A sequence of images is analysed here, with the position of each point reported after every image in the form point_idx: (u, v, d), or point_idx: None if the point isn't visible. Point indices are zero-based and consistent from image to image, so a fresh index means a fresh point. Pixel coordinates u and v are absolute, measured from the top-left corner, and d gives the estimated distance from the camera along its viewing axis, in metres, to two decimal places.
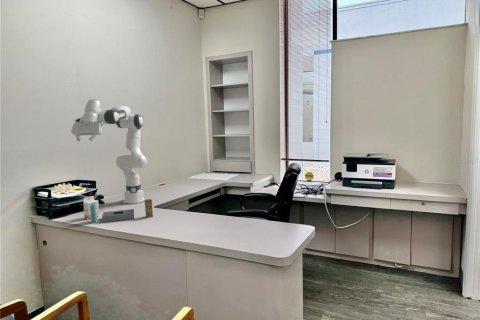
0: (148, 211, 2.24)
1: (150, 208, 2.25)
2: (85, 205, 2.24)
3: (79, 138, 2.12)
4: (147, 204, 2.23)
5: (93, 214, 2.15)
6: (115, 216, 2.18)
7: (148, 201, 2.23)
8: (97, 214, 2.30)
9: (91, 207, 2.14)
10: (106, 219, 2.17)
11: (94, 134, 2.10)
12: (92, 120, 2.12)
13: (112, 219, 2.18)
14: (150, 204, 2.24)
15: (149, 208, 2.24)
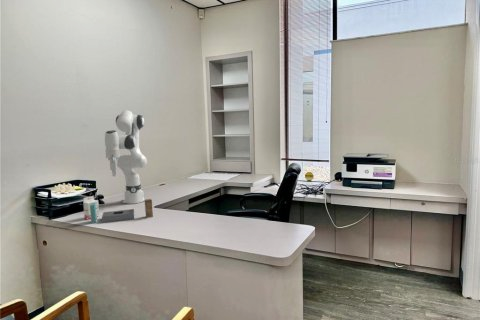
0: (148, 211, 2.24)
1: (150, 208, 2.25)
2: (85, 205, 2.24)
3: (114, 172, 2.24)
4: (147, 204, 2.23)
5: (93, 214, 2.15)
6: (115, 216, 2.18)
7: (148, 201, 2.23)
8: (97, 214, 2.30)
9: (91, 207, 2.14)
10: (106, 219, 2.17)
11: (112, 170, 2.14)
12: (109, 156, 2.15)
13: (112, 219, 2.18)
14: (150, 204, 2.24)
15: (149, 208, 2.24)
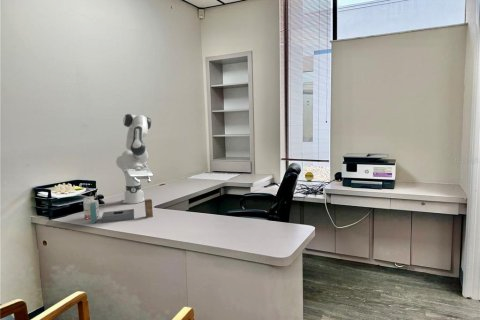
0: (148, 211, 2.24)
1: (150, 208, 2.25)
2: (85, 205, 2.24)
3: None
4: (147, 204, 2.23)
5: (93, 214, 2.15)
6: (115, 216, 2.18)
7: (148, 201, 2.23)
8: (97, 214, 2.30)
9: (91, 207, 2.14)
10: (106, 219, 2.17)
11: (133, 178, 2.23)
12: None
13: (112, 219, 2.18)
14: (150, 204, 2.24)
15: (149, 208, 2.24)
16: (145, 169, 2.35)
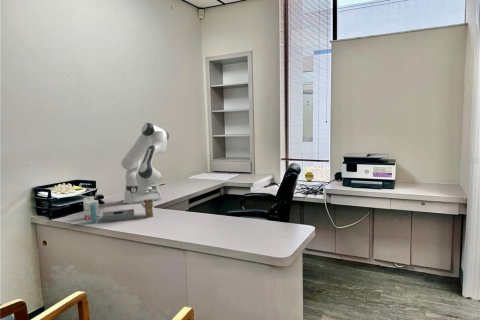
0: (148, 211, 2.24)
1: (150, 208, 2.25)
2: (85, 205, 2.24)
3: None
4: (147, 204, 2.23)
5: (93, 214, 2.15)
6: (115, 216, 2.18)
7: (148, 201, 2.23)
8: (97, 214, 2.30)
9: (91, 207, 2.14)
10: (106, 219, 2.17)
11: (140, 203, 2.26)
12: None
13: (112, 219, 2.18)
14: (150, 204, 2.24)
15: (149, 208, 2.24)
16: (154, 191, 2.32)
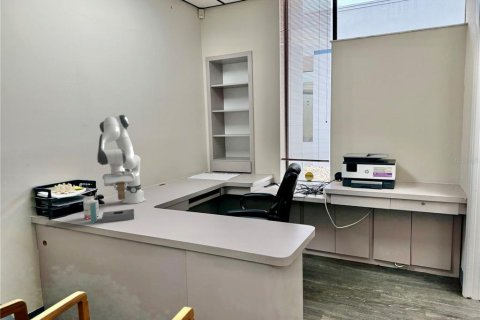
0: (120, 193, 2.21)
1: (122, 190, 2.21)
2: (85, 205, 2.24)
3: None
4: (119, 186, 2.20)
5: (93, 214, 2.15)
6: (115, 216, 2.18)
7: (120, 183, 2.20)
8: (97, 214, 2.30)
9: (91, 207, 2.14)
10: (106, 219, 2.17)
11: (113, 185, 2.22)
12: None
13: (112, 219, 2.18)
14: (122, 186, 2.21)
15: (121, 190, 2.21)
16: (127, 174, 2.29)
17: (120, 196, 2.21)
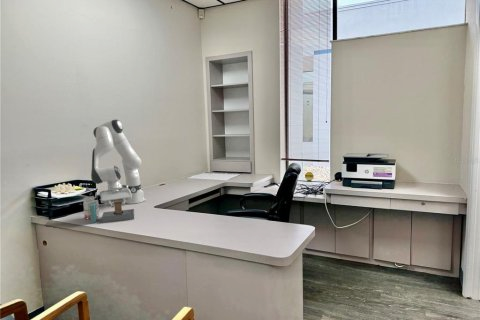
0: (117, 213, 2.22)
1: (119, 210, 2.22)
2: (85, 205, 2.24)
3: (122, 203, 2.25)
4: (116, 206, 2.21)
5: (93, 214, 2.15)
6: (115, 216, 2.18)
7: (117, 203, 2.21)
8: (97, 214, 2.30)
9: (91, 207, 2.14)
10: (106, 219, 2.17)
11: (108, 202, 2.23)
12: None
13: (112, 219, 2.18)
14: (119, 206, 2.22)
15: (118, 210, 2.22)
16: (124, 190, 2.30)
17: None
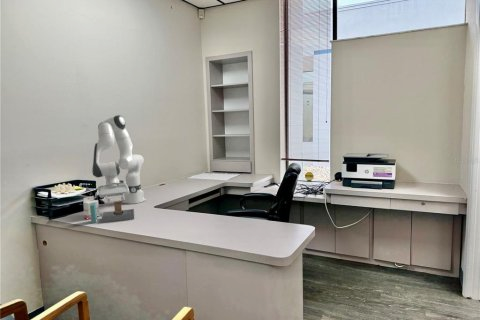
0: (117, 213, 2.22)
1: (119, 210, 2.22)
2: (85, 205, 2.24)
3: (121, 197, 2.37)
4: (116, 206, 2.21)
5: (93, 214, 2.15)
6: (115, 216, 2.18)
7: (117, 203, 2.21)
8: (97, 214, 2.30)
9: (91, 207, 2.14)
10: (106, 219, 2.17)
11: (105, 197, 2.34)
12: None
13: (112, 219, 2.18)
14: (119, 206, 2.22)
15: (118, 210, 2.22)
16: (122, 185, 2.41)
17: None
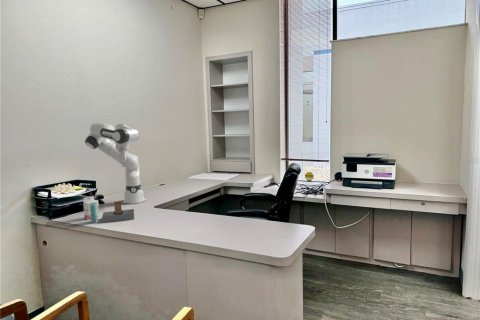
0: (117, 213, 2.22)
1: (119, 210, 2.22)
2: (85, 205, 2.24)
3: None
4: (116, 206, 2.21)
5: (93, 214, 2.15)
6: (115, 216, 2.18)
7: (117, 203, 2.21)
8: (97, 214, 2.30)
9: (91, 207, 2.14)
10: (106, 219, 2.17)
11: (122, 161, 2.30)
12: (118, 147, 2.31)
13: (112, 219, 2.18)
14: (119, 206, 2.22)
15: (118, 210, 2.22)
16: None
17: None
